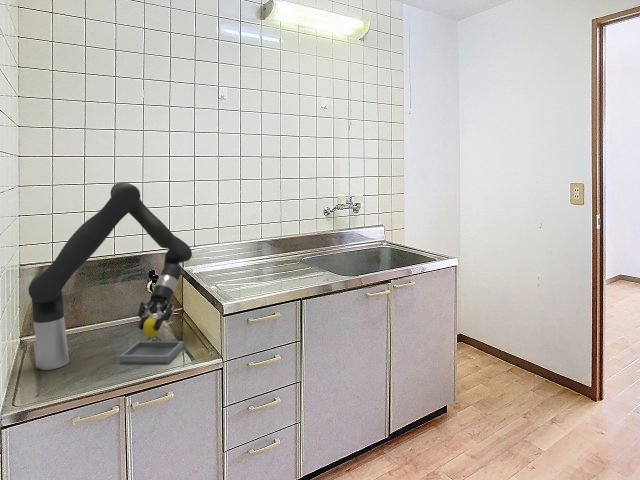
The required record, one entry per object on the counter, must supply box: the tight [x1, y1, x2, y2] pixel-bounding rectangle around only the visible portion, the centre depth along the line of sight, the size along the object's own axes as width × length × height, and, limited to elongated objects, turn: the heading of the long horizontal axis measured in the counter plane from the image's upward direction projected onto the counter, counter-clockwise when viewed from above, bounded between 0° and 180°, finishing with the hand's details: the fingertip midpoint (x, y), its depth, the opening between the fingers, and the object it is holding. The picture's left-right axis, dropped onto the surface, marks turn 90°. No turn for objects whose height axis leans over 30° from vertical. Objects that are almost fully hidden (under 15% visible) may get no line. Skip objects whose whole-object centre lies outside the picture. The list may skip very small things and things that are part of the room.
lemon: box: [142, 317, 160, 340], centre depth 157 cm, size 6×6×8 cm
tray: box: [118, 340, 185, 366], centre depth 158 cm, size 18×14×3 cm
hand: (148, 329), depth 155 cm, fingers closed on lemon, 5 cm apart
